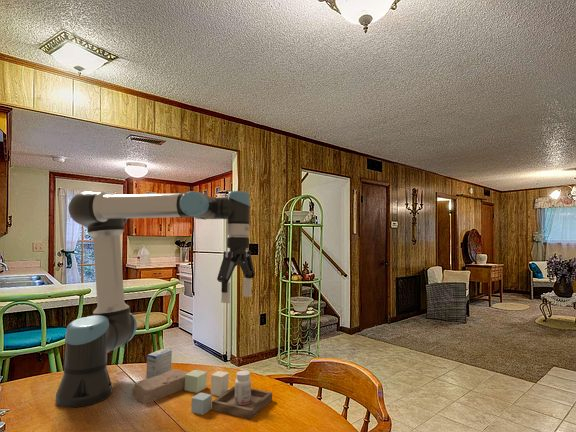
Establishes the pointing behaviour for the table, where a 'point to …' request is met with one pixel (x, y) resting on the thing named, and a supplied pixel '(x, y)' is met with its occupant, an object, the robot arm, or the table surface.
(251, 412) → the tray
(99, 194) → the robot arm
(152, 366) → the medicine box
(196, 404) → the blue-grey block
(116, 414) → the table surface
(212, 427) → the table surface
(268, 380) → the table surface
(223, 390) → the cream block
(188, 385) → the sage block
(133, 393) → the brick
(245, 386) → the pill bottle
